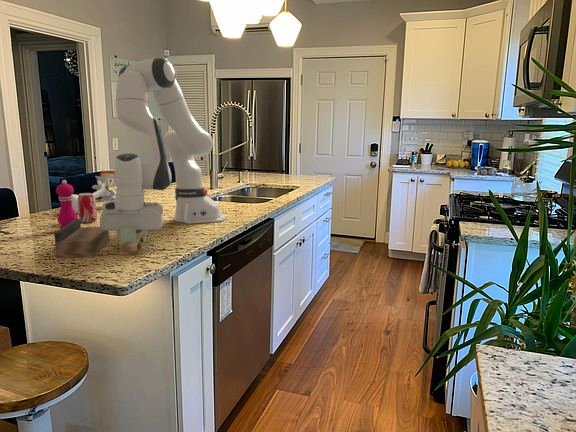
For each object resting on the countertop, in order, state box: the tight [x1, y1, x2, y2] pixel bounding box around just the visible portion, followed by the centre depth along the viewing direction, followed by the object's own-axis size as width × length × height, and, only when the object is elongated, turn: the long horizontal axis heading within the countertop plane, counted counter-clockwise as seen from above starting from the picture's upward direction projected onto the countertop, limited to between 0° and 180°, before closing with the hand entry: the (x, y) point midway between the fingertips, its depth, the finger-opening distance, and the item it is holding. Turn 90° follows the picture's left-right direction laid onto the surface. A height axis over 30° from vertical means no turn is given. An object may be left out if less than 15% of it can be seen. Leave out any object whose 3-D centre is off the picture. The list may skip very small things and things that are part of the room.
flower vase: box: [72, 174, 117, 215], centre depth 209 cm, size 13×18×25 cm
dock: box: [53, 218, 110, 258], centre depth 148 cm, size 11×20×8 cm, turn 8°
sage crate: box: [120, 227, 136, 242], centre depth 143 cm, size 4×4×4 cm
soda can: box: [77, 192, 98, 224], centre depth 187 cm, size 7×7×12 cm
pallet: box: [118, 231, 147, 256], centre depth 150 cm, size 5×18×4 cm, turn 8°
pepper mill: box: [55, 179, 79, 230], centre depth 171 cm, size 7×7×20 cm
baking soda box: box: [99, 169, 117, 200], centre depth 242 cm, size 10×6×16 cm
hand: (133, 242), depth 151 cm, fingers closed on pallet, 5 cm apart
